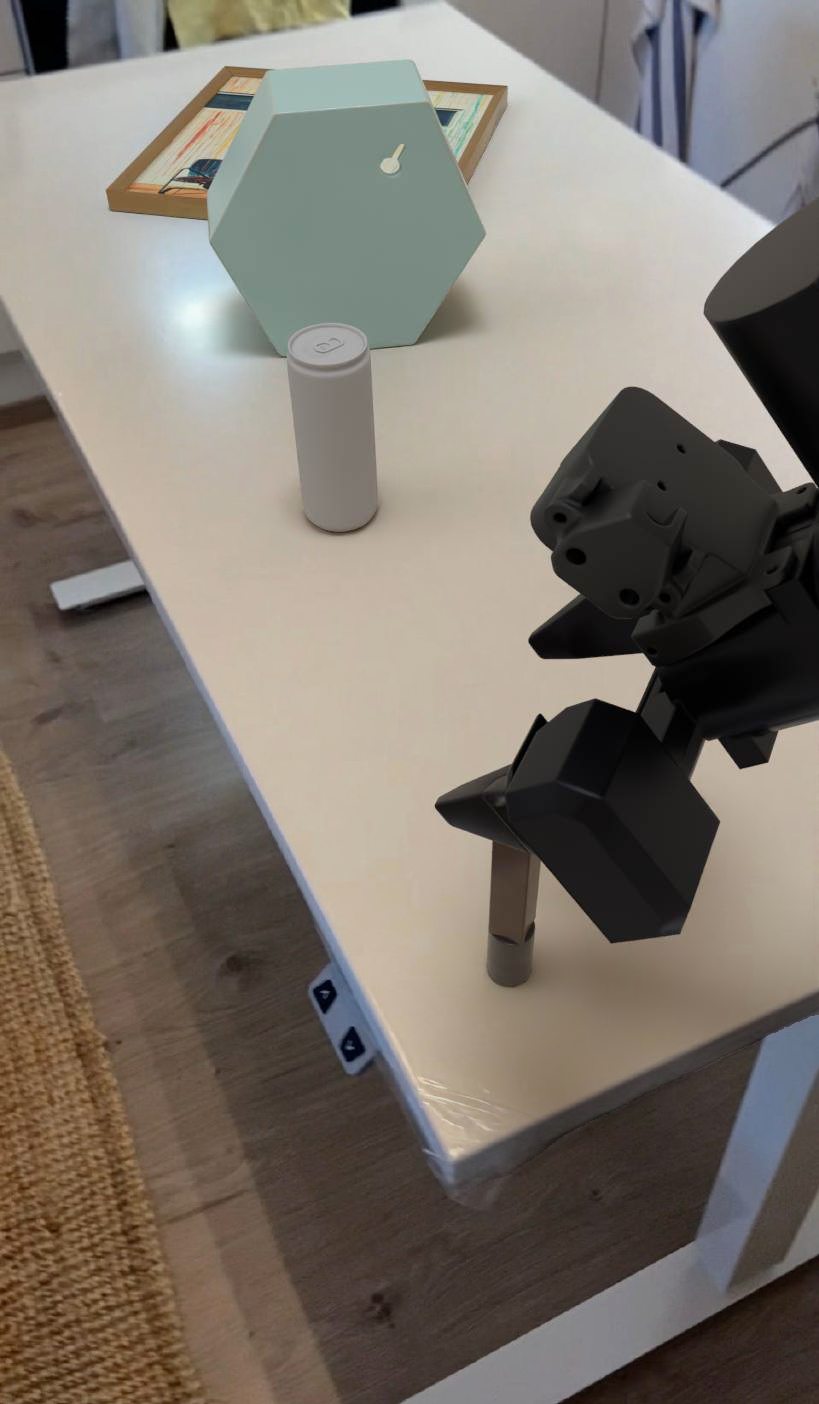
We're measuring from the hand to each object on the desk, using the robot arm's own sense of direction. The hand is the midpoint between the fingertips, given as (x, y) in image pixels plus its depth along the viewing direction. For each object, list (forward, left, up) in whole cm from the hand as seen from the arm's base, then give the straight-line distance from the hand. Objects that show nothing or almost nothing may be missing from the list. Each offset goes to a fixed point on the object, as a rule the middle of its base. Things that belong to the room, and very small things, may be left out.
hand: (492, 724), depth 44 cm
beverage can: (+20, -25, -15) cm, 35 cm away
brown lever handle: (-2, +1, -14) cm, 15 cm away
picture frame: (+47, -73, -15) cm, 88 cm away
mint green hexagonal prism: (+30, -46, -15) cm, 57 cm away
